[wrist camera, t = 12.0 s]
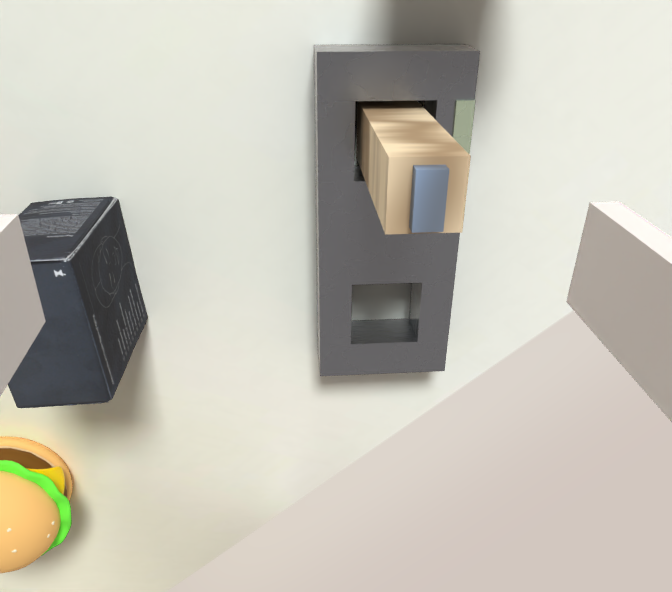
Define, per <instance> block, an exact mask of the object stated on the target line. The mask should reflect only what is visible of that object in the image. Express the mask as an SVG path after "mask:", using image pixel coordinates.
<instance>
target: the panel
mask: <svg viewBox="0 0 672 592" xmlns="http://www.w3.org/2000/svg"><path fill="white" fill-rule="evenodd" d="M479 55H480V51H479V50H477V49H475V48H472V47H470V46H468V45H466V44H393V45H314V78H315V157H316V235H317V314H318V357H319V369H320V376H335V375H359V374H383V373H407V372H431V371H444V370H445V361H446V352H447V343H448V334H449V325H450V316H451V307H452V298H453V289H454V280H455V271H456V262H457V253H458V244H459V235H460V233H423V234H386V235H385V233H384V230H383V227H382V225H381V222H380V219H379V217H378V214H377V211H376V209H375V206H374V203H373V200H372V198H371V195H370V192H369V190H368V187H367V184H366V182H365V179H364V176H363V174H362V171H361V168H360V166H354V151H355V101H414V100H425V109H426V110H427V112H428V113H429V114H430V115H431V116H432V117H433V118H434V119H435V120H436V121H437V122H438V123H439V124H440V125H441V126H442V127H443V128H444V129H445V130H446V131H447V132H448V133H449V134H450V135H451V136H452V137H453V138H454V139H455V140H456V141H457V142H458V143H459V144H460V145H461V147H462V148H463V149H464V150H465V151H466V152H467V153H468V154H469V153H470V144H471V136H472V127H473V118H474V109H475V91H476V82H477V73H478V64H479ZM392 283H412V288H411V301H410V315H409V319H385V320H358V321H351V311H352V285H361V284H392Z"/></svg>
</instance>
